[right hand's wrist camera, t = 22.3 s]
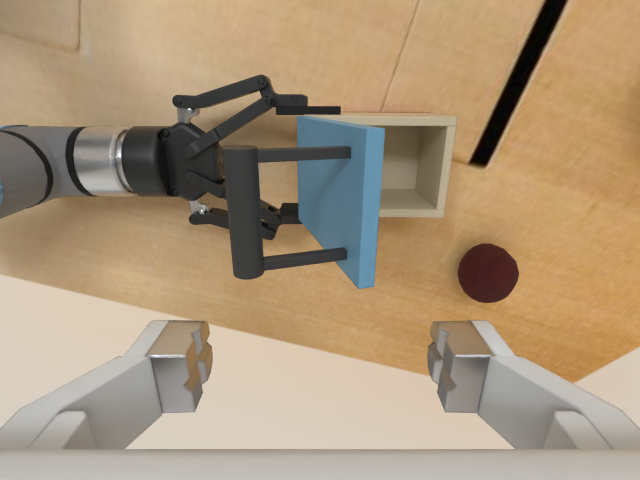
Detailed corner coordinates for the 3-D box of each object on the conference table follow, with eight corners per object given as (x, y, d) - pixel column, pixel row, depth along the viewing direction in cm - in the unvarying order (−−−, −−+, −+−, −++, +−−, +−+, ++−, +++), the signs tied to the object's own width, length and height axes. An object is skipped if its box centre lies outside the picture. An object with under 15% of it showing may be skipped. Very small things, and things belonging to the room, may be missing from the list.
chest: (428, 112, 43) (458, 116, 34) (419, 193, 47) (443, 217, 38) (306, 111, 43) (302, 115, 34) (307, 193, 47) (303, 216, 38)
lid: (385, 128, 20) (223, 131, 17) (374, 287, 24) (239, 308, 21) (308, 115, 33) (210, 116, 31) (309, 218, 37) (221, 226, 35)
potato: (452, 289, 52) (471, 317, 45) (448, 241, 49) (468, 263, 43) (503, 280, 51) (530, 307, 45) (502, 231, 49) (531, 251, 42)
